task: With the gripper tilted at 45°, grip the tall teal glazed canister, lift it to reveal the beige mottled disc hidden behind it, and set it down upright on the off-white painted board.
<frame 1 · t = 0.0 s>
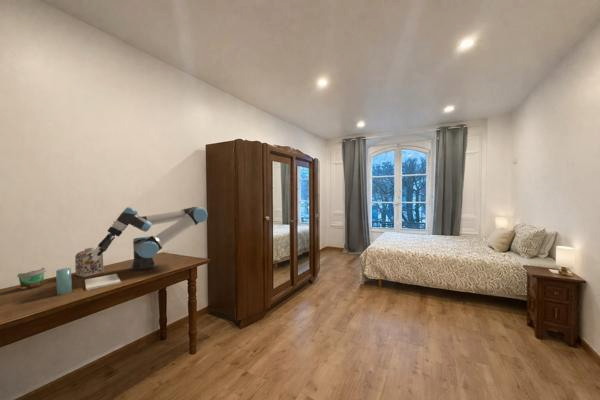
hand: (93, 258, 151), 15 cm above the table, tool tilted 35°, fingers open, 13 cm apart
teal canister: (64, 292, 136), on the table
decorative jar: (89, 274, 168), on the table
pale board: (102, 282, 151), on the table
food container: (35, 287, 145), on the table
beige mottled disc: (64, 289, 141), on the table
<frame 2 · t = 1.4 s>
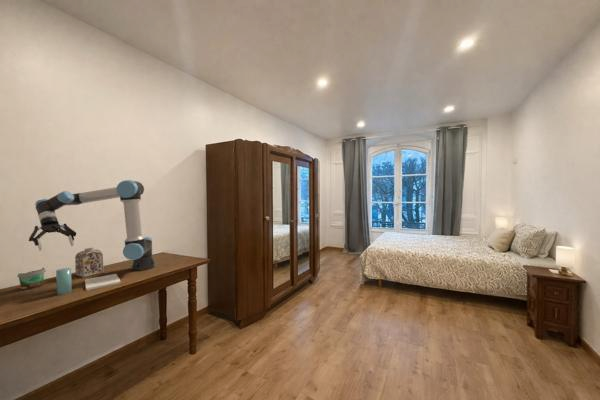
hand: (57, 246, 142), 25 cm above the table, tool tilted 45°, fingers open, 13 cm apart
nothing on the table moved.
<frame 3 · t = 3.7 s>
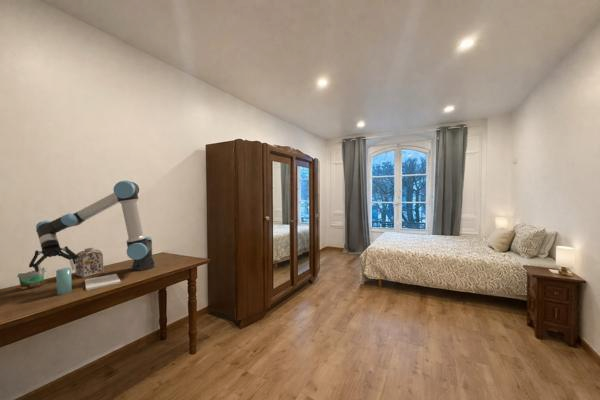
hand: (58, 272, 138), 11 cm above the table, tool tilted 45°, fingers open, 13 cm apart
nothing on the table moved.
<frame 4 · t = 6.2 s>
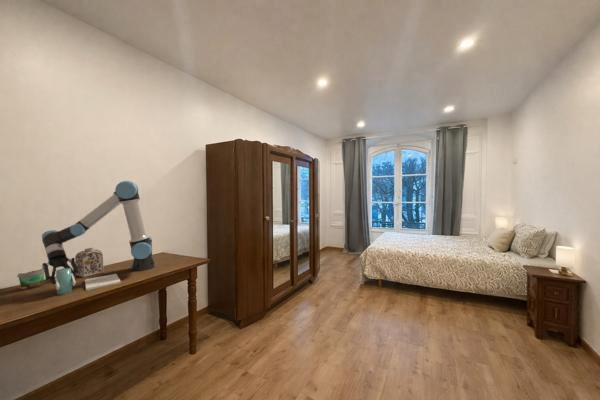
hand: (66, 286, 134), 4 cm above the table, tool tilted 45°, fingers closed on teal canister, 6 cm apart
teal canister: (64, 292, 136), on the table, touching gripper
everything else where it was.
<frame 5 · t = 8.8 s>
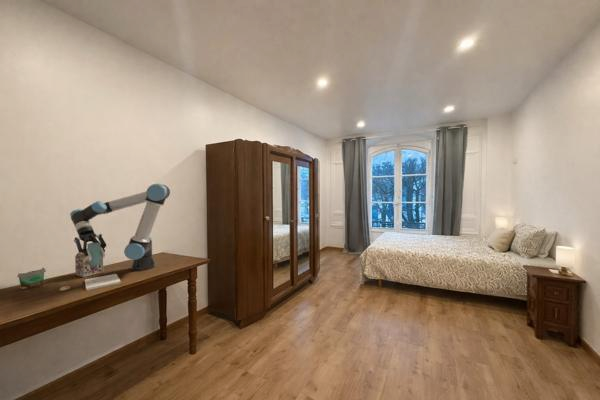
hand: (97, 257, 147), 17 cm above the table, tool tilted 45°, fingers closed on teal canister, 6 cm apart
teal canister: (95, 264, 149), point 12 cm above the table, touching gripper
everything else where it was.
when the fingers open (7 cm above the table, at t = 11.3 s): teal canister drops 1 cm, resting on pale board.
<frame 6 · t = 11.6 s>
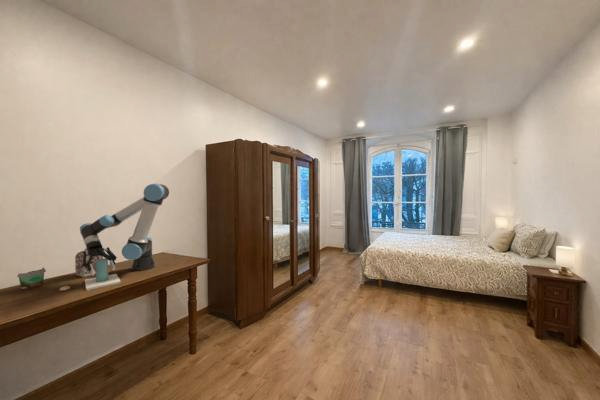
hand: (104, 271, 150), 7 cm above the table, tool tilted 45°, fingers open, 10 cm apart
teal canister: (102, 280, 152), point 1 cm above the table, touching pale board
everything else where it was.
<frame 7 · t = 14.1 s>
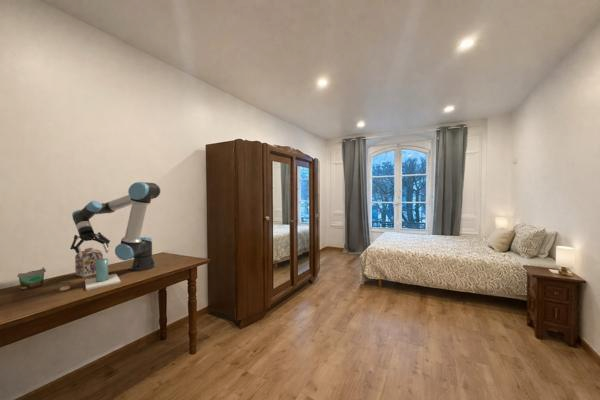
hand: (94, 254, 157), 17 cm above the table, tool tilted 45°, fingers open, 13 cm apart
nothing on the table moved.
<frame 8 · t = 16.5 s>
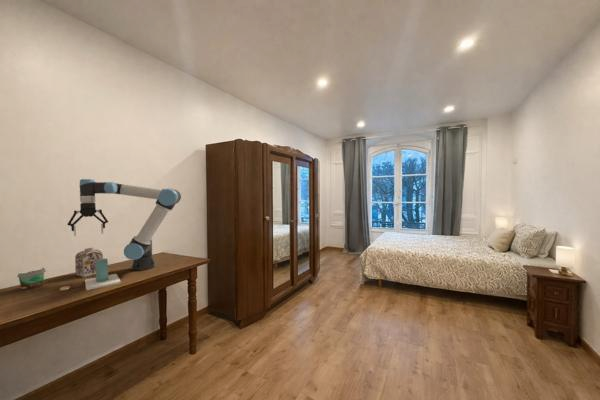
hand: (89, 234, 160), 29 cm above the table, tool pointing down, fingers open, 13 cm apart
nothing on the table moved.
at the end: teal canister inside the target area on the pale board (0.6 cm from its centre), point 1.3 cm above the pale board's base; teal canister tilted 1°; the gripper is holding nothing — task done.
